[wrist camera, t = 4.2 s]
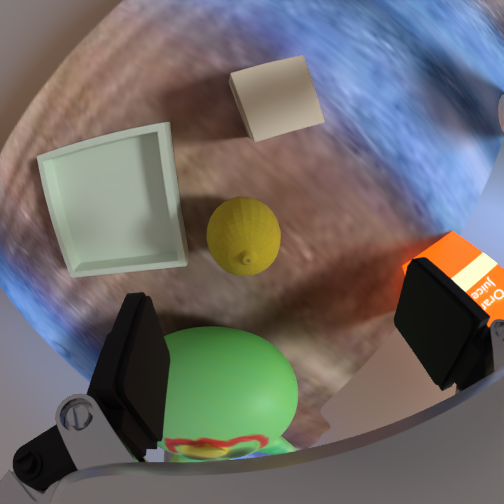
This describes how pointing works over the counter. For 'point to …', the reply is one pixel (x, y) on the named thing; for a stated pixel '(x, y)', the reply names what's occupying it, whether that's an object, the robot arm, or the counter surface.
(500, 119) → the foam cup
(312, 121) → the beech block
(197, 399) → the toy bird
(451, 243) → the orange juice
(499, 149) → the counter surface
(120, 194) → the tray
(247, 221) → the lemon
